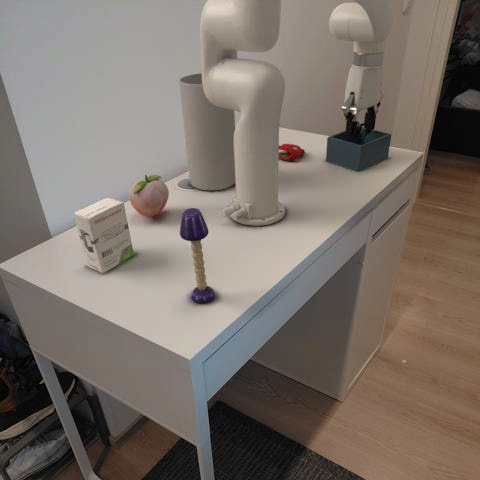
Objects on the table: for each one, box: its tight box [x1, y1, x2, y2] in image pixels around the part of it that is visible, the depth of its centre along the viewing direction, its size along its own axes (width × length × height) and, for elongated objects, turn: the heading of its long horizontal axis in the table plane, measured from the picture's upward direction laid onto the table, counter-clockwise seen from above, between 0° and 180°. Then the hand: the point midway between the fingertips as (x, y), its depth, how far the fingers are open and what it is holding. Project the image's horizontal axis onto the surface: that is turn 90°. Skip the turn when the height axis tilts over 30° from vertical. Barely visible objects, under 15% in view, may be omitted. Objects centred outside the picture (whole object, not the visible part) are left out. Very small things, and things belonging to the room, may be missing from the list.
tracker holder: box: [279, 143, 305, 162], centre depth 139 cm, size 12×4×10 cm
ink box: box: [72, 197, 135, 274], centre depth 94 cm, size 9×5×12 cm, turn 143°
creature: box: [343, 117, 374, 142], centre depth 130 cm, size 8×5×8 cm
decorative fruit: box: [128, 174, 170, 218], centre depth 110 cm, size 9×8×10 cm
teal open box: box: [325, 125, 392, 172], centre depth 134 cm, size 13×11×7 cm
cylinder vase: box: [178, 72, 236, 192], centre depth 120 cm, size 12×12×25 cm
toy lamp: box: [179, 207, 216, 305], centre depth 81 cm, size 5×5×17 cm
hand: (359, 131), depth 131 cm, fingers closed on creature, 7 cm apart
